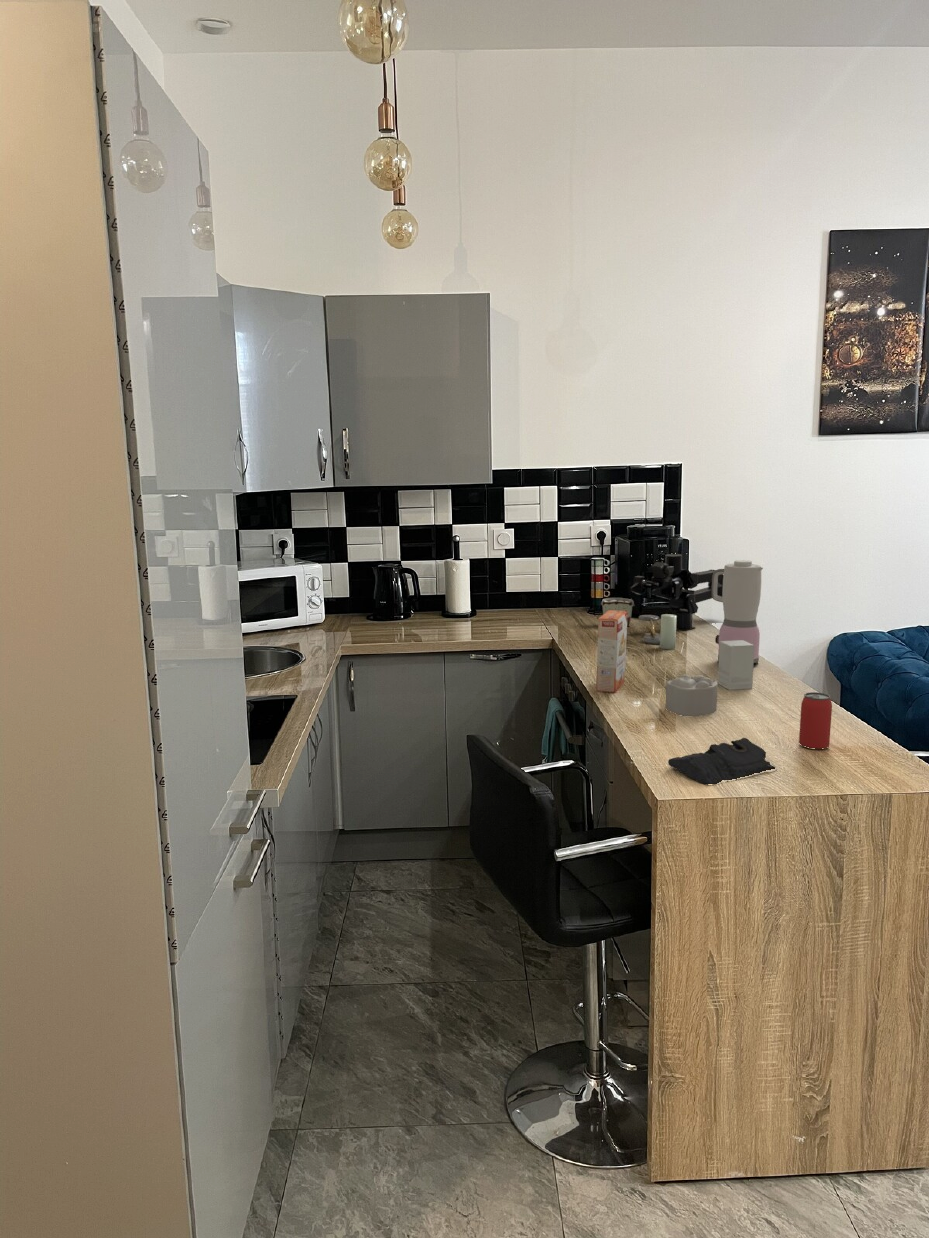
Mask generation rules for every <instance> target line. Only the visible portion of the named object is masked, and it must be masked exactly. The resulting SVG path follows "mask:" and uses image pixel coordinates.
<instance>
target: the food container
mask: <svg viewBox="0 0 929 1238" xmlns="http://www.w3.org/2000/svg"><path fill="white" fill-rule="evenodd" d="M600 606H602V615H604V614H605V613H606V612H607V611H609V610H614V611H626V612H628V615H627V626H630V627H631V620H632V619H631V618H632V613H633V612H632V611H633V607H635V603H634V600H633V599H629V598H623V597H607V598H603V599H602V601H600Z"/></svg>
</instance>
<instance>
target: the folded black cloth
mask: <svg viewBox="0 0 929 1238" xmlns="http://www.w3.org/2000/svg"><path fill="white" fill-rule="evenodd" d="M730 743H731V744H729V743H726V742H721V743H720V744H716V743H714V744H710V746H709V748H708V749H707V750H706V751H705V752H698V753H697V752H696V753H691V754H688V755H684V756H677V757H673V758H669V759H668V762H667V763H668V765H669V766H670V768H673V769H675V770H676V771H679V772H681V773H682V774H684V775H686V776H687V777H688V778H690V779H691V780H694V781H695V780H697V781H698V782H701V783H700V784H702V783H703V784H702V785H705V784H717V783H719V782H721V781H722V780H732V779H737V778H740V777H745V776H749V775H752V774H754V773H760V772H762V771H766V770H771V769H775V768H776V766H774V765H772V764H771V762H770V761H767V760H766V755H767V752H766V751H765V749H764V748H762V747H761V746H759V745H756V743H754V742H752V741H751V740H749V738H746V737H742V738H740V739H736V740H731V741H730ZM697 781H696V782H697ZM698 782H697V783H698Z"/></svg>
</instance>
